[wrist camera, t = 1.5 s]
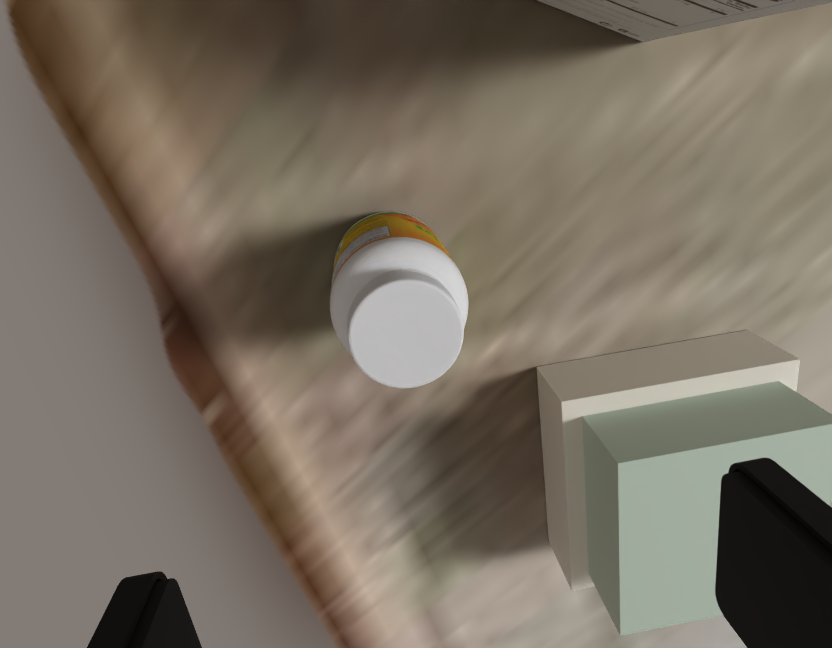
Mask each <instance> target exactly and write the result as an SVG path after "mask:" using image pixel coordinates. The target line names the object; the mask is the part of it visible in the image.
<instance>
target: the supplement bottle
mask: <svg viewBox="0 0 832 648" xmlns="http://www.w3.org/2000/svg"><path fill="white" fill-rule="evenodd" d="M330 314H331V320H332V324H333V327H334V330H335V332H336V335H337V337H338V339H339V340H340V342H341V343H342V345H343V346H344V348H345V349H346V350H347V351H348V352H349V353H350V354H351V355H352V357H353V359H354V360H355V362H356V364H357V365H358V367H359V368H360V369H361V370H362V371H363V372H364V373H365V374H366V375H367V376H368V377H370V378H371V379H373V380H375V381H377V382H379V383H381V384H383V385H386V386H390V387H395V388H412V387H418V386H422V385H425V384H427V383H429V382H432V381H434V380H436V379H437V378H439V377H440V376H441V375H443V374H444V373H445V372H446V371H447V370H448V369H449V368H450V367H451V366H452V364H453V363H454V362H455V360H456V358H457V356H458V354H459V352H460V350H461V347H462V343H463V336H464V327H465V324H466V320H467V314H468V294H467V289H466V286H465V283H464V280H463V278H462V275H461V273H460V271H459V269H458V268H457V266H456V264H455V263H454V262H453V260H452V259H451V257H450V256H449V254H448V253H447V251H446V249H445V248H444V247H443V245H442V244H441V242H440V241H439V239H438V238H437V236H436V235H435V233H434V232H433V231H432V230H431V229H430V228H429V227H428V226H427V225H426V224H425V223H424V222H422V221H421V220H419V219H418V218H416V217H414V216H411V215H409V214H406V213H402V212H396V211H385V212H379V213H375V214H372V215H369V216H367V217H365V218H363V219H361V220H359V221H358V222H357V223H355V224H354V225H353V226H352V227H351V228H350V229H349V230H348V231H347V232H346V233H345V235H344V236H343V238H342V240H341V242H340V244H339V246H338V249H337V252H336V255H335V260H334V269H333V277H332V286H331V294H330Z"/></svg>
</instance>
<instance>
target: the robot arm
mask: <svg viewBox="0 0 832 648" xmlns="http://www.w3.org/2000/svg"><path fill="white" fill-rule="evenodd" d="M715 596H716V600H717V603H718V606H719V608H720V610H721V612H722V614H723V615H724V617H725V618H726V620H727V621H728V622H729V624H730V625H731V626H732V628H733V629H734V630H735V632H736V633H737V634H738V636H739V637H740V638H741V640H742V641H743V642H744V644H745V645H746V646H747V648H832V507H830V506H829V505H828V504H827V503H825V502H824V501H823V500H822V499H820V498H819V497H818V496H817V495H816V494H814V493H813V492H812V491H811V490H809V489H808V488H807V487H806V486H804V485H803V484H802V483H801V482H800V481H798V480H797V479H796V478H795V477H793V476H792V475H791V474H790V473H788V472H787V471H786V470H785V469H784V468H782V467H781V466H780V465H779V464H777V463H776V462H775V461H773V460H772V459H770V458H765V457H764V458H759V459H754V460H749V461H743V462H738V463H734V464H732V465H731V466H730V468H729V472H728V473H727V474H724V475H723V476H722V479H721V491H720V510H719V528H718V547H717V565H716V583H715ZM87 648H202V647H201V644H200V641H199V639H198V636H197V633H196V631H195V628H194V625H193V623H192V620H191V617H190V614H189V612H188V609H187V606H186V604H185V601H184V598H183V596H182V593H181V590H180V587H179V585H178V583H177V581H176V580H175V579H172V578H171V579H167V578H166V576H165V574H163V572H153V573H148V574H142V575H137V576H132V577H126V578H124V579H123V580H121V582H120V583H119V585H118V586H117V589H116V591H115V593H114V594H113V596H112V599H111V601H110V603H109V605H108V607H107V609H106V611H105V613H104V615H103V617H102V619H101V621H100V623H99V625H98V627H97V629H96V631H95V633H94V635H93V637H92V639H91V641H90V643H89V645H88V647H87Z"/></svg>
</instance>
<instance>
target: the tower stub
mask: <svg viewBox="0 0 832 648" xmlns="http://www.w3.org/2000/svg"><path fill="white" fill-rule="evenodd" d="M799 364H800V359H799V358H797V357H795V356H793V355H791V354H790V353H788V352H786V351H784V350H783V349H781V348H779V347H777V346H775V345H774V344H772V343H770V342H768V341H766V340H765V339H763V338H761V337H759V336H757V335H756V334H754V333H752V332H750V331H749V330H744V331H739V332H733V333H727V334H721V335H716V336H710V337H704V338H699V339H693V340H687V341H681V342H676V343H670V344H664V345H659V346H653V347H647V348H641V349H636V350H630V351H624V352H619V353H613V354H607V355H601V356H596V357H590V358H584V359H579V360H573V361H567V362H561V363H556V364H550V365H544V366H539V367H536V368H537V382H538V396H539V410H540V425H541V439H542V453H543V467H544V481H545V496H546V510H547V524H548V538H549V542H550V544H551V547H552V549H553V551H554V553H555V555H556V557H557V560H558V562H559V564H560V566H561V568H562V571H563V573H564V575H565V577H566V579H567V582H568V584H569V586H570V588H571V590H572V591H573V590H578V589H583V588H588V587H593V586H595V587H596V589H597V591H598V593H599V595H600V597H601V599H602V601H603V603H604V605H605V607H606V609H607V610H608V612H609V614H610V616H611V618H612V620H613V622H614V624H615V626H616V628H617V630H618V632H619V634H620V636H622V635H627V634H632V633H637V632H642V631H647V630H652V629H657V628H662V627H667V626H672V625H677V624H682V623H687V622H692V621H697V620H702V619H707V618H712V617H717V616H722V615H723V614H722V612H721V610H720V608H719V606H718V603H717V600H716V596H715V583H716V565H717V547H718V528H719V510H720V491H721V479H722V476H723V475H724V474H727V473H728V472H729V468H730V466H731V465H732V464H734V463H738V462H743V461H749V460H754V459H759V458H764V457H765V458H770V459H772V460H773V461H775V462H776V463H777V464H779V465H780V466H781V467H782V468H784V469H785V470H786V471H787V472H788V473H790V474H791V475H792V476H793V477H795V478H796V479H797V480H798V481H800V482H801V483H802V484H803V485H804V486H806V487H807V488H808V489H809V490H811V491H812V492H813V493H814V494H816V495H817V496H818V497H819V498H820V499H822V500H823V501H824V502H825V503H827V504H828V505H829V506H830V505H831V499H832V415H831V414H830V413H828V412H827V411H825V410H824V409H822V408H820V407H819V406H817V405H816V404H814V403H813V402H811V401H809V400H808V399H806V398H805V397H803V396H802V395H800V394H798V393H797V392H796V390H797V381H798V372H799Z"/></svg>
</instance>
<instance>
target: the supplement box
mask: <svg viewBox="0 0 832 648" xmlns="http://www.w3.org/2000/svg"><path fill="white" fill-rule="evenodd" d="M537 1H540V2H542V3H545V4H547V5H550V6H552V7H555V8H558V9H560V10H563V11H565V12H568V13H570V14H573V15H575V16H578V17H580V18H583V19H585V20H588V21H591V22H593V23H596V24H598V25H601V26H603V27H606V28H608V29H611V30H613V31H616V32H618V33H621V34H624V35H626V36H629V37H631V38H634V39H637V40H639V41H642V42H647V41H651V40H655V39H659V38H663V37H668V36H673V35H678V34H683V33H687V32H693V31H697V30H702V29H706V28H711V27H716V26H720V25H725V24H729V23H734V22H739V21H744V20H749V19H754V18H759V17H763V16H768V15H773V14H778V13H783V12H788V11H792V10H797V9H802V8H807V7H812V6H816V5H821V4H826V3H831V2H832V0H537Z"/></svg>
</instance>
